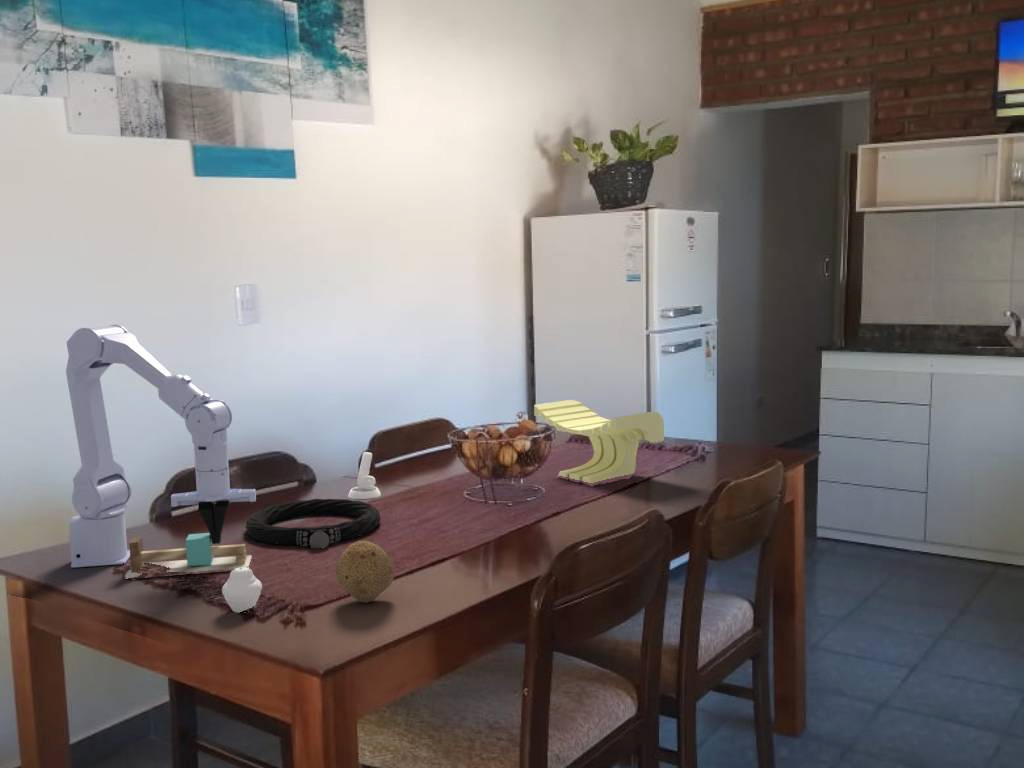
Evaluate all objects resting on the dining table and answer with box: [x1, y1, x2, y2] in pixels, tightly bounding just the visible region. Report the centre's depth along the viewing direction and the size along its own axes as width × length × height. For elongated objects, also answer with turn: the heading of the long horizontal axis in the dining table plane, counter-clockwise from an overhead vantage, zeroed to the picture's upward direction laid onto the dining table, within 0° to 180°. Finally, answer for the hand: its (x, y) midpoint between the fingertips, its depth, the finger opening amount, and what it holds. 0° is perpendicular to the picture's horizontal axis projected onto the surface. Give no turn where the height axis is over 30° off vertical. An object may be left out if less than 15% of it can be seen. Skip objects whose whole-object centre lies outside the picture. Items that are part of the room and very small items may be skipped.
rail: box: [124, 536, 253, 579], centre depth 175 cm, size 21×7×6 cm, turn 100°
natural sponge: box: [335, 540, 394, 604], centre depth 156 cm, size 9×9×10 cm
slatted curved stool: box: [533, 399, 665, 483], centre depth 242 cm, size 30×16×18 cm, turn 38°
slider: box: [185, 532, 214, 566], centre depth 175 cm, size 4×4×5 cm
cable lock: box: [244, 498, 381, 549], centre depth 200 cm, size 28×4×30 cm
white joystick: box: [347, 451, 382, 500], centre depth 231 cm, size 8×12×7 cm
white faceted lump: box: [221, 567, 263, 614], centre depth 153 cm, size 6×6×7 cm
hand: (216, 542), depth 176 cm, fingers closed
